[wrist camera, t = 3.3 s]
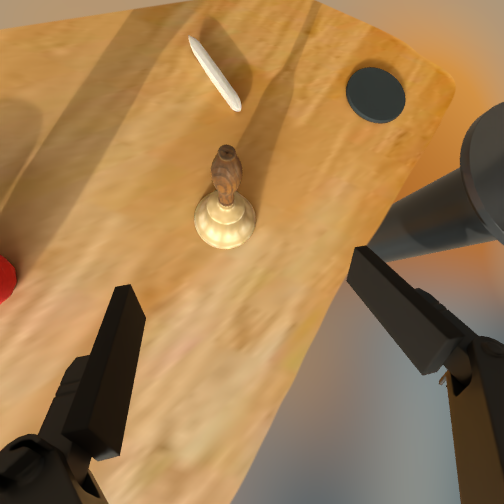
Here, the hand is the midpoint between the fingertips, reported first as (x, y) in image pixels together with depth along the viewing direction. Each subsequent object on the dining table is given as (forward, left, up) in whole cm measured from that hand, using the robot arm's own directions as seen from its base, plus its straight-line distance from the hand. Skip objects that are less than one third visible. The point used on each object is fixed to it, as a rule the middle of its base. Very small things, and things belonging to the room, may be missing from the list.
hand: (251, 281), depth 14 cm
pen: (+6, -31, -17) cm, 36 cm away
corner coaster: (-20, -33, -17) cm, 42 cm away
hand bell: (+2, -9, -17) cm, 20 cm away
